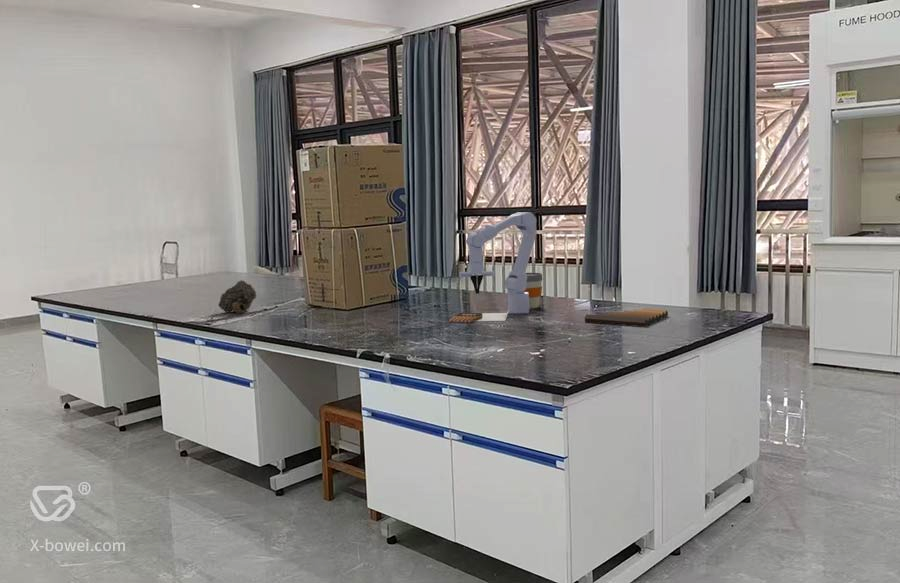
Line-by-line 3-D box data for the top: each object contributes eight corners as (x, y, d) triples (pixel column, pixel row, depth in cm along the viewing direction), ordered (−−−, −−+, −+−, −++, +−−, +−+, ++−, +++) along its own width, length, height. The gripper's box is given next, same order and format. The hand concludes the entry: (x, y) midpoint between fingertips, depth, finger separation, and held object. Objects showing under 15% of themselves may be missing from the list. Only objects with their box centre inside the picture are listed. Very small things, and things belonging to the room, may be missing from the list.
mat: (508, 313, 323) (508, 312, 323) (504, 321, 306) (504, 320, 306) (479, 314, 325) (479, 313, 325) (474, 321, 308) (474, 320, 308)
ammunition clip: (460, 317, 318) (447, 323, 308) (459, 312, 318) (446, 319, 307) (482, 317, 313) (470, 324, 303) (482, 313, 313) (469, 319, 302)
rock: (236, 275, 368) (244, 272, 355) (258, 294, 373) (267, 292, 360) (211, 303, 360) (220, 301, 348) (234, 322, 365) (243, 321, 353)
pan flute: (584, 323, 296) (644, 328, 281) (584, 315, 296) (644, 319, 281) (610, 313, 316) (667, 317, 301) (610, 305, 316) (668, 309, 301)
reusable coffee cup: (545, 308, 333) (544, 275, 331) (517, 309, 333) (516, 276, 331) (541, 303, 346) (540, 272, 344) (514, 305, 346) (513, 273, 344)
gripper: (493, 260, 318) (494, 291, 320) (459, 261, 319) (461, 292, 321) (493, 261, 311) (494, 293, 313) (458, 262, 312) (460, 294, 314)
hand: (477, 293), depth 316 cm, fingers closed
